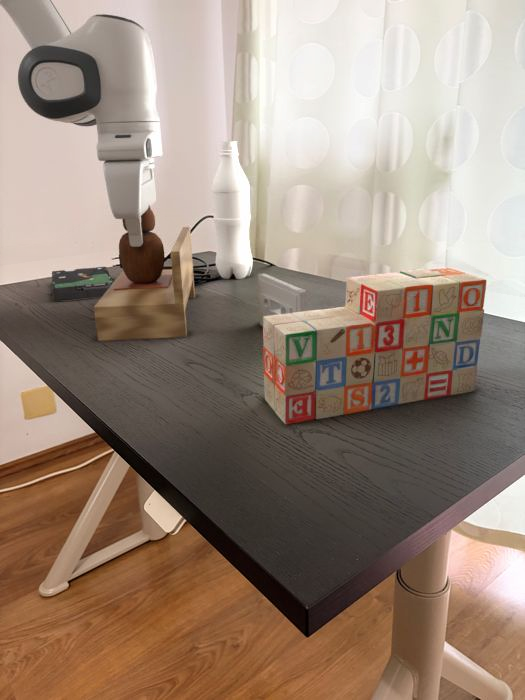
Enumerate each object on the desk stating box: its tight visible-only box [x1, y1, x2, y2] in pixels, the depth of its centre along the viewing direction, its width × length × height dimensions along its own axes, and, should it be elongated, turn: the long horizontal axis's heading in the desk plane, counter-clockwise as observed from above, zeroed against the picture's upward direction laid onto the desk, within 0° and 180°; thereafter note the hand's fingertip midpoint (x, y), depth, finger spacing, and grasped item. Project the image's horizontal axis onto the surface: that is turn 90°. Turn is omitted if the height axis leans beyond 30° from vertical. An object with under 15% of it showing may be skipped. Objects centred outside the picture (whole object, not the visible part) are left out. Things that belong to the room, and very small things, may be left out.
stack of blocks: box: [262, 267, 487, 425], centre depth 59 cm, size 21×6×12 cm, turn 109°
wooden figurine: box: [118, 205, 166, 283], centre depth 88 cm, size 7×6×15 cm
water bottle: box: [211, 140, 253, 280], centre depth 110 cm, size 7×7×25 cm
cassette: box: [257, 272, 307, 327], centre depth 79 cm, size 12×2×8 cm, turn 26°
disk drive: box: [51, 266, 114, 302], centre depth 107 cm, size 10×3×15 cm
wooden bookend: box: [93, 226, 196, 342], centre depth 88 cm, size 12×22×12 cm, turn 3°
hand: (140, 241), depth 88 cm, fingers closed on wooden figurine, 6 cm apart
